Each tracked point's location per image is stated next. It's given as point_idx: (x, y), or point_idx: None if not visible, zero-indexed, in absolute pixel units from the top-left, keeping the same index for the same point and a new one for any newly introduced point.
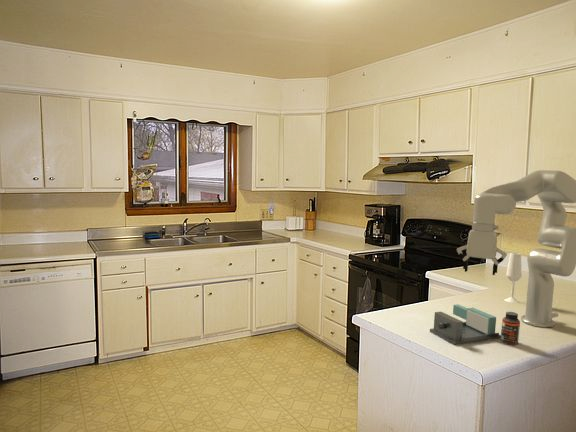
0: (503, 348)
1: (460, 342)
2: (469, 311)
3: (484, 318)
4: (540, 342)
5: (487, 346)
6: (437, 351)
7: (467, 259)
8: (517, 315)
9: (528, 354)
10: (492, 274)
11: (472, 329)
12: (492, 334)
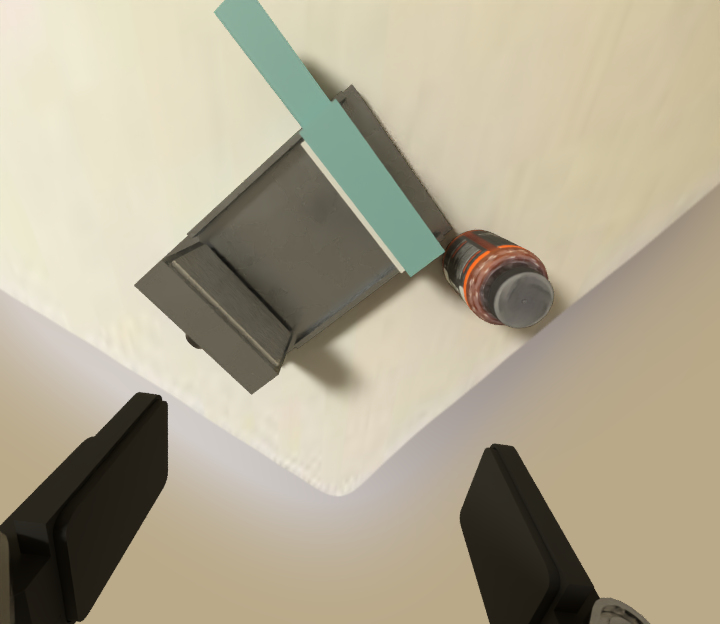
0: (434, 328)
1: (289, 350)
2: (314, 161)
3: (385, 252)
4: (602, 212)
5: (382, 329)
6: (223, 422)
7: (32, 596)
8: (545, 313)
9: (506, 351)
10: (460, 520)
11: (339, 195)
12: None
